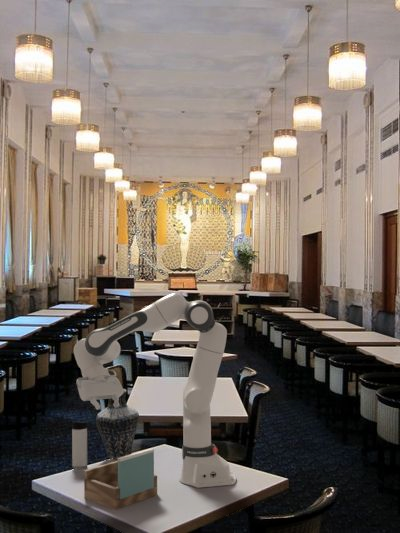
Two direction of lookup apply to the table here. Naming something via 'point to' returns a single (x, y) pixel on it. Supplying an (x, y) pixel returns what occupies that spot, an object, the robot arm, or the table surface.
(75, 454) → the travel mug
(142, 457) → the teal flat panel
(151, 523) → the table surface
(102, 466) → the wooden drawer
